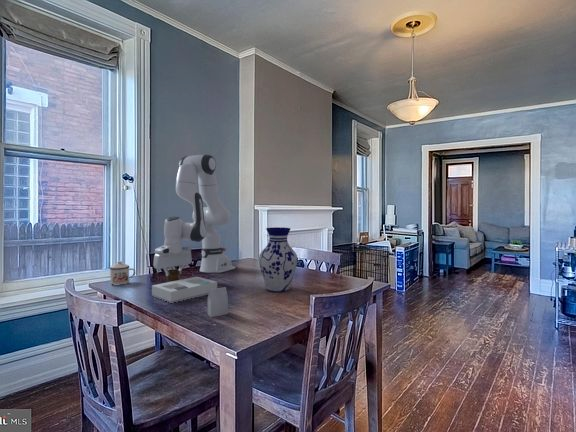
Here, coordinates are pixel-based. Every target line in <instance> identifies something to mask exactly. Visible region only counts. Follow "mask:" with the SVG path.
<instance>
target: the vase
mask: <svg viewBox="0 0 576 432" xmlns="http://www.w3.org/2000/svg"><path fill="white" fill-rule="evenodd" d="M265 230H266V232H267V233H268V236H269V241H268V243H267V245H266V246H265V247H264V248H263V249H262V251H261V252H260V254H259V257H258V264H259V268H260V271H261V275H262V279H263V281H264V283H265V287H266V291H268V292H271V293H285V292H289V290H290V288H291V284H292V283H293V279H294V275H295V272H296V269H297V265H298V255H297V253H296V252H295V250H294V249H293V247H291V246H290V243H289V242H288V235H289V233H290V231H291V227H277V226H276V227H265Z"/></svg>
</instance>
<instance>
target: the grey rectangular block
mask: <svg viewBox="0 0 576 432" xmlns="http://www.w3.org/2000/svg"><path fill="white" fill-rule="evenodd" d="M207 315H208V316H209V317H210V318H214V317H219V316H223V315H224V316H225V315H229V297H228V292H227V287H225V286H224V287H223V286H222V287H217V288H216V289H209V294H208V296H207Z"/></svg>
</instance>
